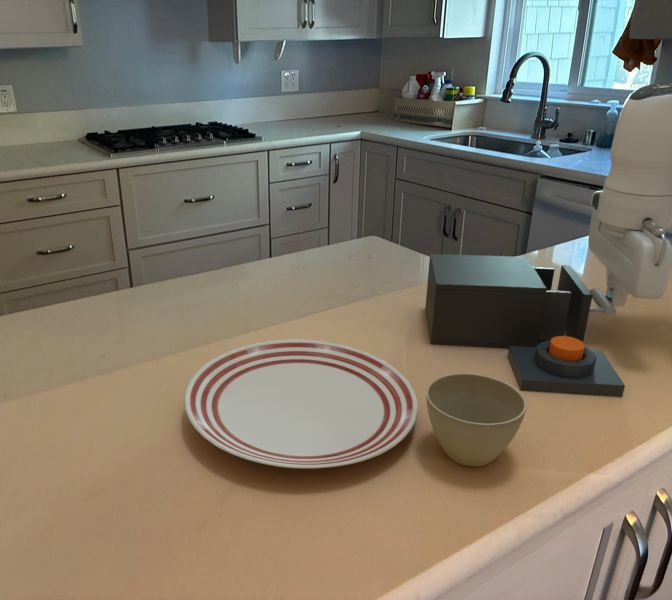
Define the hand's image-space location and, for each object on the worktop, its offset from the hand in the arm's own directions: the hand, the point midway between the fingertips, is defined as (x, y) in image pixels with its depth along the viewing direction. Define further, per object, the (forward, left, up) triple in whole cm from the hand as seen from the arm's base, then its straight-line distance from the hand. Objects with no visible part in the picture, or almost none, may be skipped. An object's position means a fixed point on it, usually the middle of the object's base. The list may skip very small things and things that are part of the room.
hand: (614, 302), depth 89 cm
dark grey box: (+19, 0, -5) cm, 19 cm away
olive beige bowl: (+24, +31, -6) cm, 39 cm away
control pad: (+10, +13, -5) cm, 17 cm away
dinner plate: (+43, +26, -6) cm, 50 cm away
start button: (+10, +13, -2) cm, 16 cm away
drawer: (+10, 0, -4) cm, 11 cm away
